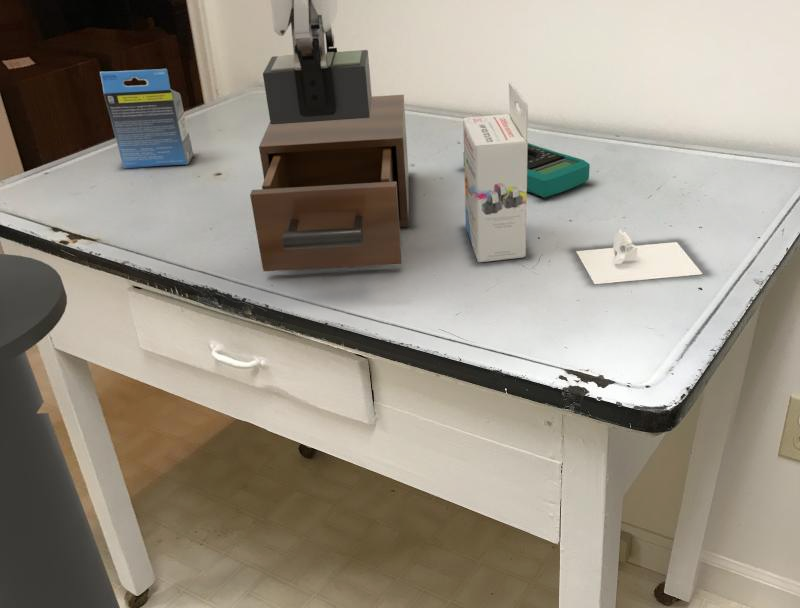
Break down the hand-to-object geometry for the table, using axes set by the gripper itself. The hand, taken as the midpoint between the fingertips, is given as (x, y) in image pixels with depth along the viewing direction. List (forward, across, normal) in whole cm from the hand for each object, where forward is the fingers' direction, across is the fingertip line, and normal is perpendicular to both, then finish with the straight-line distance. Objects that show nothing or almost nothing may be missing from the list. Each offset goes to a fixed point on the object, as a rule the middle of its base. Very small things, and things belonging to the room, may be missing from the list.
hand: (321, 101), depth 79 cm
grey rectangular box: (+1, 0, 0) cm, 1 cm away
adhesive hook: (+15, +6, +29) cm, 33 cm away
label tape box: (+15, -31, -26) cm, 43 cm away
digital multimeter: (+15, -18, +21) cm, 31 cm away
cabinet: (+15, -13, 0) cm, 20 cm away
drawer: (+14, +1, 0) cm, 14 cm away
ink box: (+15, 0, +16) cm, 22 cm away
